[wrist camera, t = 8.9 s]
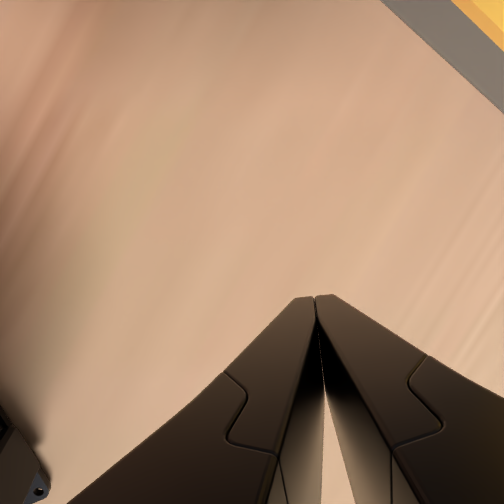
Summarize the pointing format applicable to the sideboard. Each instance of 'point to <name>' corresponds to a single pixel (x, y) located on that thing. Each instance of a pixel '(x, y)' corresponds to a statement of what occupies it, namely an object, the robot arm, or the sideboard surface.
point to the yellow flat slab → (486, 17)
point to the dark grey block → (456, 43)
